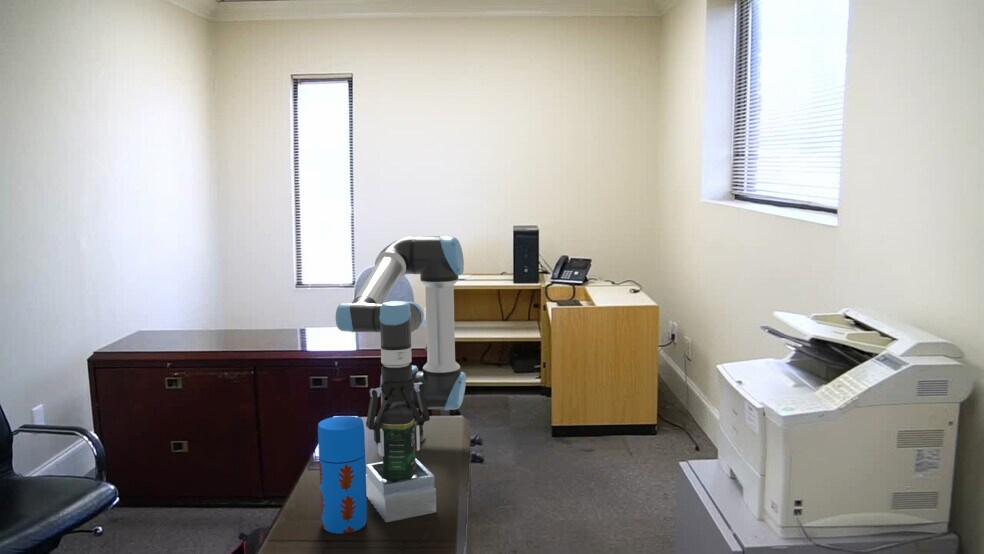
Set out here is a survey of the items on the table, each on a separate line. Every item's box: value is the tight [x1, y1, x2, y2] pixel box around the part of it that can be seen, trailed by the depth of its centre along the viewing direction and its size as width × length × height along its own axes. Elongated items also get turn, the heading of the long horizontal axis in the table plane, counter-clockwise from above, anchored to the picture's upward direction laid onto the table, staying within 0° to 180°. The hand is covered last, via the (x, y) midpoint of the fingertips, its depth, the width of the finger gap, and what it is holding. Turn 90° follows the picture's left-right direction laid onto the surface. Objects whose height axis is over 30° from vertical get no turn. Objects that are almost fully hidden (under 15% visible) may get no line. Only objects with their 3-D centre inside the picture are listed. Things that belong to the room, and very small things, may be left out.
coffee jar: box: [382, 402, 417, 482], centre depth 192 cm, size 10×8×19 cm
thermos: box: [317, 415, 368, 534], centre depth 182 cm, size 11×11×25 cm
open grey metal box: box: [366, 458, 437, 523], centre depth 193 cm, size 13×17×9 cm
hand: (399, 451), depth 192 cm, fingers closed on coffee jar, 9 cm apart
